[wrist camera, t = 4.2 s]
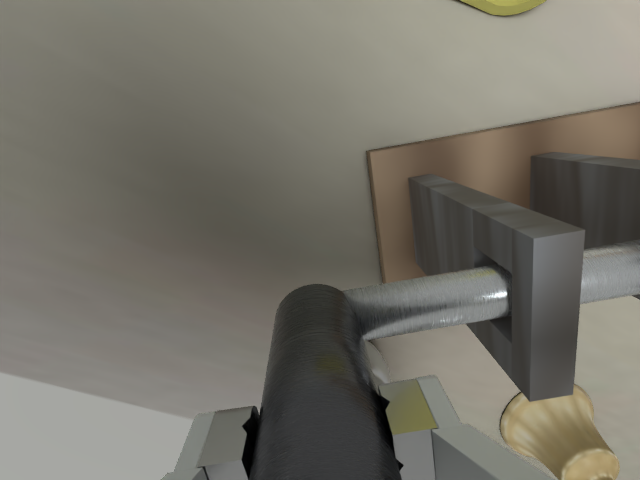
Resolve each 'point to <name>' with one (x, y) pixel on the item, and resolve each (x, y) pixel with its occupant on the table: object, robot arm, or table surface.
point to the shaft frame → (514, 223)
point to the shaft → (354, 365)
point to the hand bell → (560, 436)
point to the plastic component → (504, 6)
